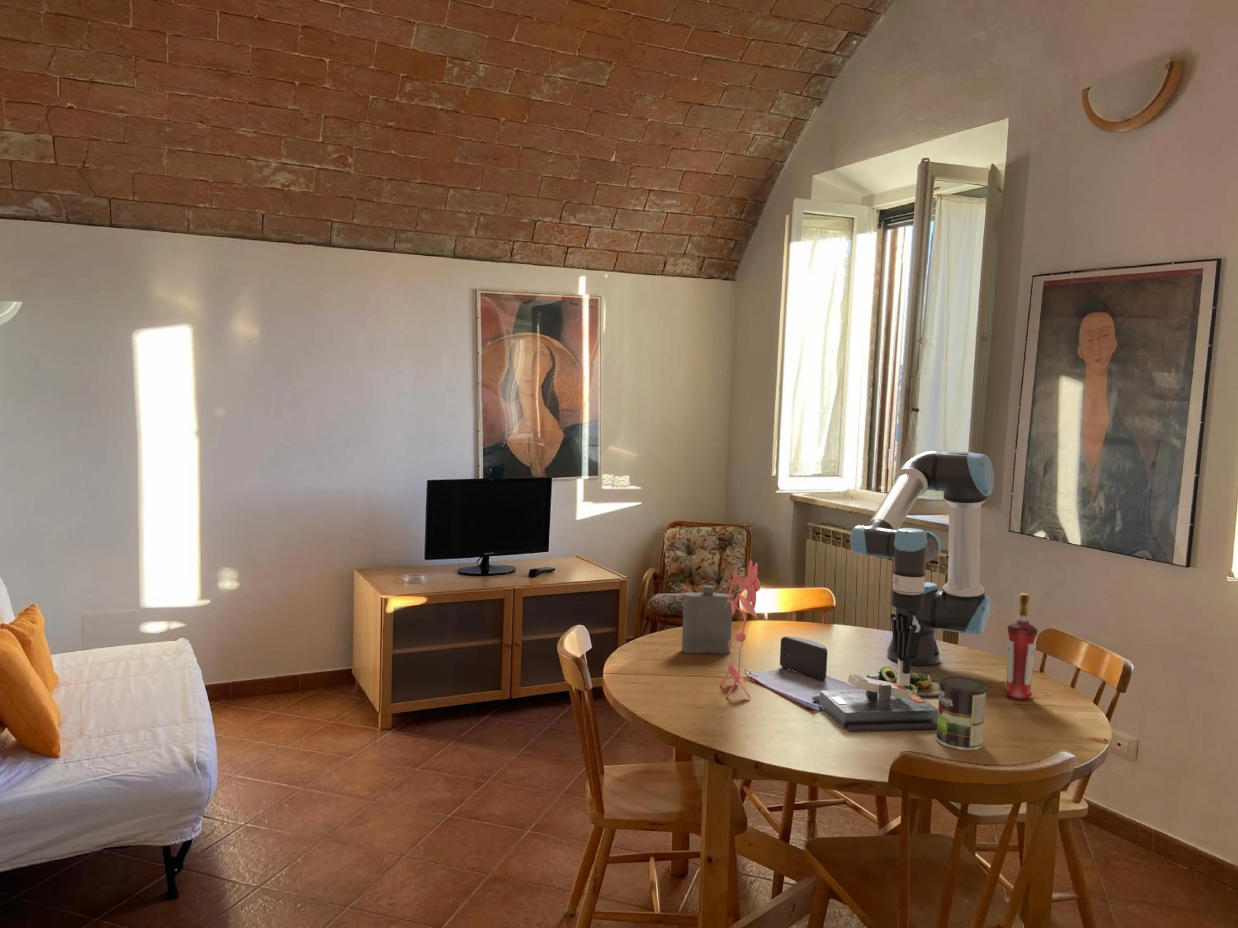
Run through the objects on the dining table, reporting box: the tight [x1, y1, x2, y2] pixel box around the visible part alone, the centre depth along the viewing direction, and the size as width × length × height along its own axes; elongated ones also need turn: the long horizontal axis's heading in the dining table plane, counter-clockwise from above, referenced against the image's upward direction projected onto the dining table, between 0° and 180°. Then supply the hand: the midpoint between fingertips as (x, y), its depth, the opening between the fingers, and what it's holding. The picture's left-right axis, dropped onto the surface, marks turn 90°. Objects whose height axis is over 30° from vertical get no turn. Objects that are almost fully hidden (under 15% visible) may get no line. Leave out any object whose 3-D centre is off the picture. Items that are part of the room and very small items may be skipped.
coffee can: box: [935, 675, 988, 752], centre depth 213 cm, size 10×10×14 cm
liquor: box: [1003, 592, 1039, 701], centre depth 247 cm, size 7×7×28 cm
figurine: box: [719, 560, 761, 705], centre depth 244 cm, size 15×26×35 cm, turn 4°
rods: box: [811, 695, 937, 732], centre depth 230 cm, size 24×22×1 cm
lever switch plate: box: [818, 673, 938, 730], centre depth 229 cm, size 24×16×9 cm, turn 99°
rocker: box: [847, 673, 910, 699], centre depth 229 cm, size 14×5×2 cm, turn 99°
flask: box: [681, 585, 734, 655], centre depth 282 cm, size 15×6×20 cm, turn 93°
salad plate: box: [877, 666, 940, 698], centre depth 253 cm, size 19×18×5 cm
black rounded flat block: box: [779, 635, 828, 681], centre depth 263 cm, size 16×5×9 cm, turn 39°
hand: (903, 684), depth 230 cm, fingers closed
